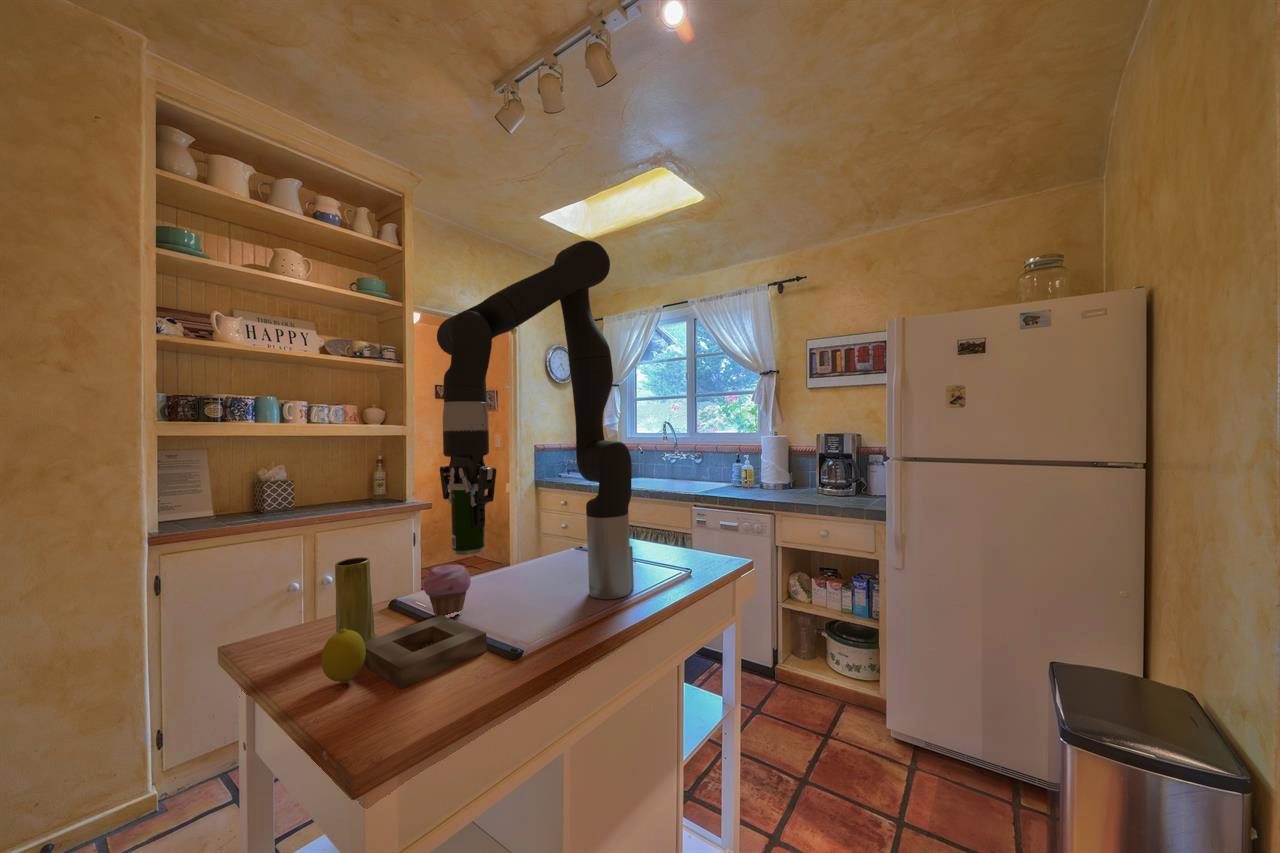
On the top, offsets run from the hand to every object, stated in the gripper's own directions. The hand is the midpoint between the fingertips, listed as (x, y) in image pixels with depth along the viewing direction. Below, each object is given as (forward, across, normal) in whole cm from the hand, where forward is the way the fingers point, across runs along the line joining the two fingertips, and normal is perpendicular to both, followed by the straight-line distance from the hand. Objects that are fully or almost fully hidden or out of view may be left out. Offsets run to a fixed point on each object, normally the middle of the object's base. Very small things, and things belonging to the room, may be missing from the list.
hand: (468, 525), depth 84 cm
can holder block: (+20, +1, +8) cm, 22 cm away
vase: (+20, +17, +12) cm, 29 cm away
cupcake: (+20, +14, -4) cm, 25 cm away
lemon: (+21, +3, +19) cm, 28 cm away
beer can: (+5, 0, 0) cm, 5 cm away
